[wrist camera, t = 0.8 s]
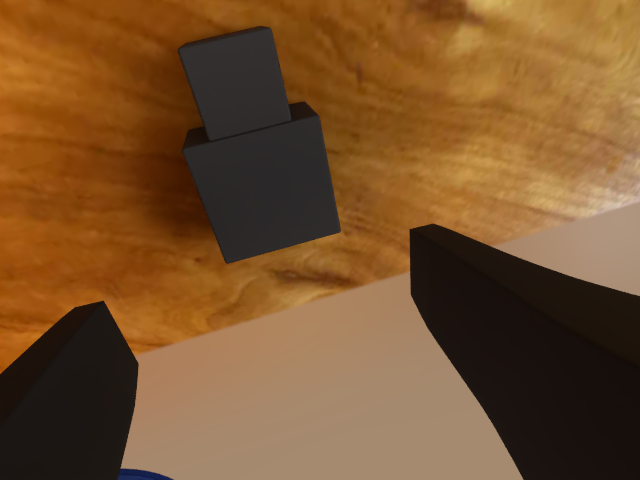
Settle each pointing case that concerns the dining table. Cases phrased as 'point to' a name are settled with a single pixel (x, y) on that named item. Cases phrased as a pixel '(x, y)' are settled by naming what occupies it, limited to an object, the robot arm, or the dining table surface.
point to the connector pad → (255, 148)
